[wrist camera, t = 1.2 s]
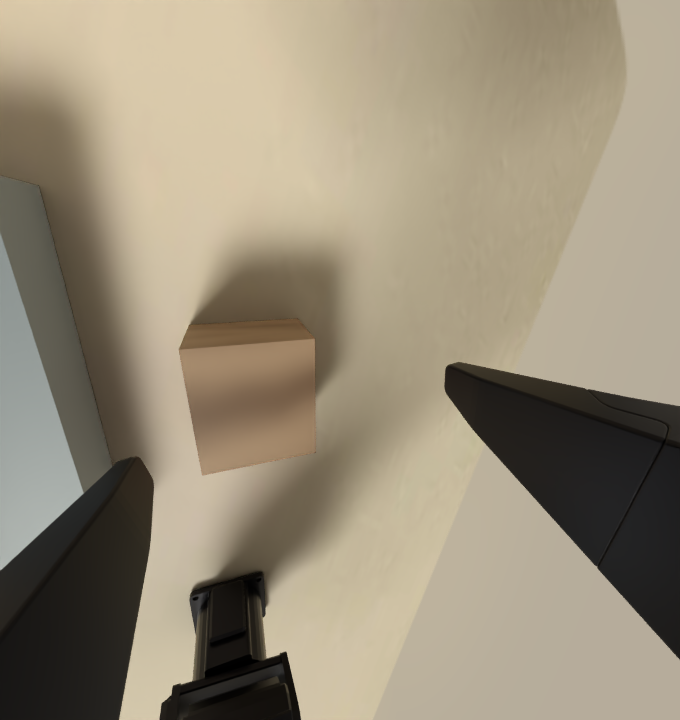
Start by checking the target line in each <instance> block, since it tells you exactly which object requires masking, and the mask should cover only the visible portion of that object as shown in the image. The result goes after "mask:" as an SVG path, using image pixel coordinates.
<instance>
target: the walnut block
mask: <svg viewBox="0 0 680 720" xmlns="http://www.w3.org/2000/svg"><path fill="white" fill-rule="evenodd" d="M179 354H180V359H181V365H182V370H183V375H184V381H185V386H186V391H187V397H188V402H189V407H190V413H191V418H192V424H193V429H194V434H195V440H196V445H197V450H198V456H199V461H200V466H201V472H202V475H207V474H212V473H217V472H222V471H227V470H232V469H237V468H241V467H246V466H251V465H256V464H261V463H266V462H271V461H276V460H281V459H286V458H291V457H296V456H301V455H306V454H311V453H315V452H316V427H315V338H314V337H313V336H312V335H311V334H310V332H309V331H308V330H307V329H306V328H305V326H304V325H303V324H302V323H301V322H300V321H299V319H298V318H297V319H280V320H263V321H246V322H229V323H212V324H195V325H189V327H188V329H187V331H186V334H185V336H184V339H183V341H182V343H181V346H180V348H179Z"/></svg>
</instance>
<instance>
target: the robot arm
mask: <svg viewBox="0 0 680 720" xmlns="http://www.w3.org/2000/svg"><path fill="white" fill-rule="evenodd" d="M444 387H445V392H446V394H447V395H448V397H449V398H450V399H451V401H452V402H453V403H454V405H455V406H456V407H457V409H458V410H459V412H460V413H461V414H462V416H463V417H464V418H465V420H466V421H467V423H468V424H469V425H470V426H471V428H472V429H473V430H474V431H475V433H476V434H477V435H478V436H479V437H480V438H481V439H482V441H483V442H484V443H485V444H486V445H487V446H488V447H489V448H490V449H491V450H492V452H493V453H494V454H495V455H496V456H497V457H498V458H499V459H500V460H501V462H502V463H503V464H504V465H505V466H506V467H507V468H508V469H509V470H510V471H511V473H512V474H513V475H514V476H515V477H516V478H517V479H518V480H519V482H520V483H521V484H522V485H523V486H524V487H525V488H526V489H527V490H528V491H529V493H530V494H531V495H532V496H533V497H534V498H535V499H536V500H537V502H538V503H539V504H540V505H541V506H542V507H543V508H544V509H545V510H546V511H547V513H548V514H549V515H550V516H551V517H552V518H553V519H554V520H555V521H556V522H557V524H558V525H559V526H560V527H561V528H562V529H563V530H564V531H565V533H566V534H567V535H568V536H569V537H570V538H571V539H572V540H573V541H574V543H575V544H576V545H577V546H578V547H579V548H580V549H581V550H582V551H583V553H584V554H585V555H586V556H587V557H588V558H589V559H590V560H591V561H592V563H593V564H594V565H595V566H598V567H597V568H598V569H599V571H600V572H601V573H602V574H603V575H604V576H605V577H606V578H607V579H608V581H609V582H610V583H611V584H612V585H613V586H614V587H615V588H616V589H617V590H618V592H619V593H620V594H621V595H622V596H623V597H624V598H625V599H626V600H627V601H628V603H629V604H630V605H631V606H632V607H633V608H634V609H635V611H636V612H637V613H638V614H639V615H640V616H641V617H642V618H643V619H644V621H645V622H647V624H648V625H649V626H650V627H651V628H652V629H653V631H654V632H655V633H656V634H657V635H658V636H659V637H660V638H661V639H662V640H663V642H664V643H665V644H666V645H667V646H668V647H669V648H670V649H671V650H672V652H673V653H674V654H675V655H676V656H677V657H678V658H679V659H680V406H675V405H670V404H663V403H658V402H652V401H647V400H641V399H635V398H629V397H624V396H620V395H615V394H610V393H604V392H599V391H595V390H590V389H588V390H586V389H585V388H580V387H576V386H571V385H566V384H562V383H557V382H552V381H547V380H543V379H538V378H533V377H528V376H524V375H519V374H514V373H509V372H505V371H500V370H495V369H490V368H486V367H481V366H476V365H471V364H467V363H462V362H456V363H453V364H450V365H448V366H447V367H446V370H445V385H444ZM153 494H154V483H153V479H152V477H151V475H150V473H149V472H148V470H147V468H146V467H145V465H144V463H143V462H142V460H141V459H140V458H139V457H137V456H134V457H130V458H127V459H123V460H120V461H118V462H117V463H116V464H115V465H114V466H113V467H111V468H110V469H109V470H108V471H107V472H106V473H105V474H104V475H103V476H102V477H101V478H100V479H99V480H97V481H96V482H95V483H94V484H93V485H92V486H91V487H90V488H89V489H88V490H87V491H86V492H84V493H83V494H82V495H81V496H80V497H79V498H78V499H77V500H76V501H75V502H74V503H73V504H72V505H70V506H69V507H68V508H67V509H66V510H65V511H64V512H63V513H62V514H61V515H60V516H59V517H58V518H56V519H55V520H54V521H53V522H52V523H51V524H50V525H49V526H48V527H47V528H46V529H45V530H44V531H42V532H41V533H40V534H39V535H38V536H37V537H36V538H35V539H34V540H33V541H32V542H31V543H29V544H28V545H27V546H26V547H25V548H24V549H23V550H22V551H21V552H20V553H19V554H18V555H17V556H15V557H14V558H13V559H12V560H11V561H10V562H9V563H8V564H7V565H6V566H5V567H4V568H3V569H1V570H0V720H119V717H120V711H121V706H122V700H123V695H124V689H125V683H126V678H127V672H128V667H129V661H130V656H131V650H132V645H133V639H134V633H135V628H136V622H137V617H138V611H139V606H140V600H141V594H142V589H143V583H144V578H145V572H146V567H147V561H148V556H149V549H150V541H151V527H152V511H153ZM190 606H191V611H192V617H193V622H194V628H195V633H196V643H195V657H194V670H193V681H192V682H188V683H185V684H182V685H181V683H180V684H177V685H173V688H172V696H170V697H169V698H168V699H167V700H165V701H164V702H163V703H162V706H161V713H160V720H301V717H300V710H299V705H298V700H297V696H296V691H295V687H294V683H293V678H292V674H291V670H290V665H289V661H288V657H287V652H283V653H280V655H277V656H274V657H271V658H268V659H266V649H265V638H264V628H263V617H264V616H265V614H266V613H265V589H264V574H263V573H262V572H258V573H255V574H251V575H248V576H244V577H241V578H237V579H234V580H230V581H227V582H223V583H220V584H216V585H213V586H209V587H206V588H202V589H199V590H195V591H193V592H192V593H191V594H190Z"/></svg>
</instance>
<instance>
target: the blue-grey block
mask: <svg viewBox="0 0 680 720" xmlns="http://www.w3.org/2000/svg"><path fill="white" fill-rule="evenodd" d="M111 467H113V466H112V462H111V458H110V454H109V451H108V447H107V443H106V439H105V435H104V432H103V428H102V424H101V420H100V416H99V413H98V409H97V405H96V401H95V397H94V394H93V390H92V386H91V382H90V378H89V375H88V371H87V367H86V363H85V359H84V356H83V352H82V348H81V344H80V340H79V337H78V333H77V329H76V325H75V321H74V318H73V314H72V310H71V306H70V302H69V299H68V295H67V291H66V287H65V283H64V280H63V276H62V272H61V268H60V264H59V261H58V257H57V253H56V249H55V245H54V241H53V238H52V234H51V230H50V226H49V222H48V219H47V215H46V211H45V207H44V203H43V200H42V196H41V192H40V188H39V185H35V184H31V183H27V182H23V181H19V180H15V179H11V178H8V177H4V176H0V570H1V569H3V568H4V567H5V566H6V565H7V564H8V563H9V562H10V561H11V560H12V559H13V558H14V557H15V556H17V555H18V554H19V553H20V552H21V551H22V550H23V549H24V548H25V547H26V546H27V545H28V544H29V543H31V542H32V541H33V540H34V539H35V538H36V537H37V536H38V535H39V534H40V533H41V532H42V531H44V530H45V529H46V528H47V527H48V526H49V525H50V524H51V523H52V522H53V521H54V520H55V519H56V518H58V517H59V516H60V515H61V514H62V513H63V512H64V511H65V510H66V509H67V508H68V507H69V506H70V505H72V504H73V503H74V502H75V501H76V500H77V499H78V498H79V497H80V496H81V495H82V494H83V493H84V492H86V491H87V490H88V489H89V488H90V487H91V486H92V485H93V484H94V483H95V482H96V481H97V480H99V479H100V478H101V477H102V476H103V475H104V474H105V473H106V472H107V471H108V470H109V469H110V468H111Z"/></svg>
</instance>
